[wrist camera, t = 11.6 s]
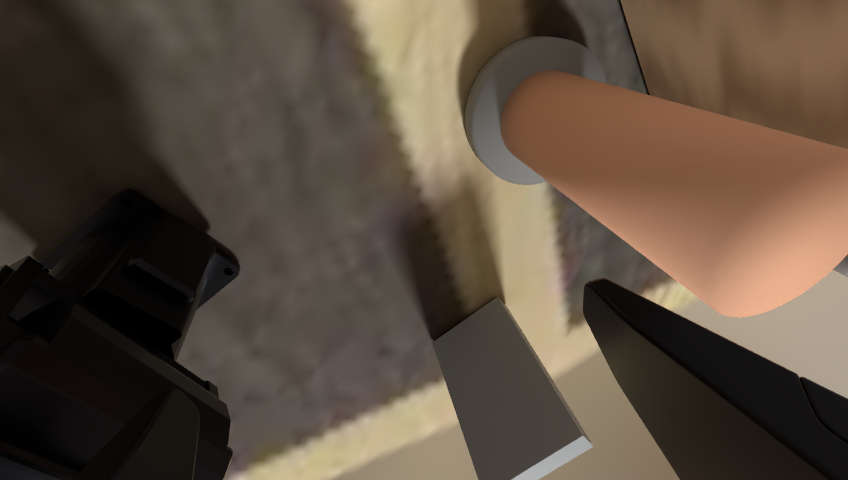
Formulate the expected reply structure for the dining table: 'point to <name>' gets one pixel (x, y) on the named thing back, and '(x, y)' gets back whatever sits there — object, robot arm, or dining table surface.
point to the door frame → (506, 399)
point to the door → (750, 61)
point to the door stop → (666, 175)
